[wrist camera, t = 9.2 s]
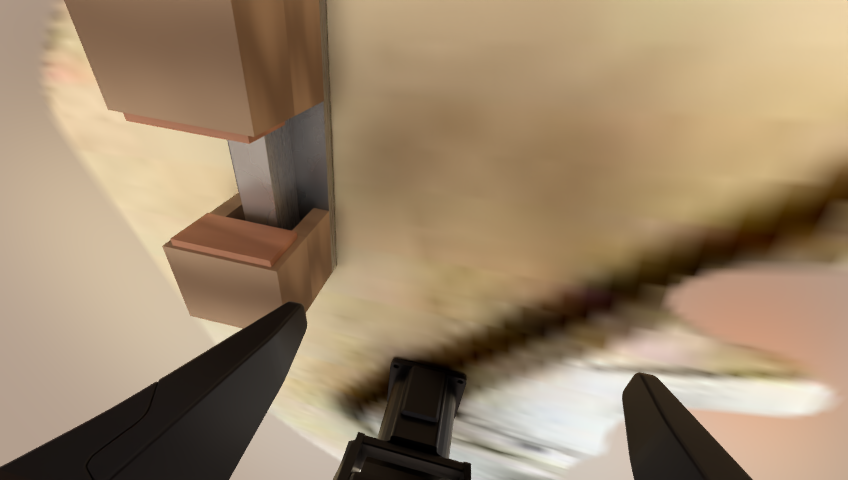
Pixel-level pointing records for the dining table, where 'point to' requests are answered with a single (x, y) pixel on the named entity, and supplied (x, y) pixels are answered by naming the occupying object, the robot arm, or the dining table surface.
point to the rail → (290, 164)
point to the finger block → (204, 62)
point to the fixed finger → (248, 264)
